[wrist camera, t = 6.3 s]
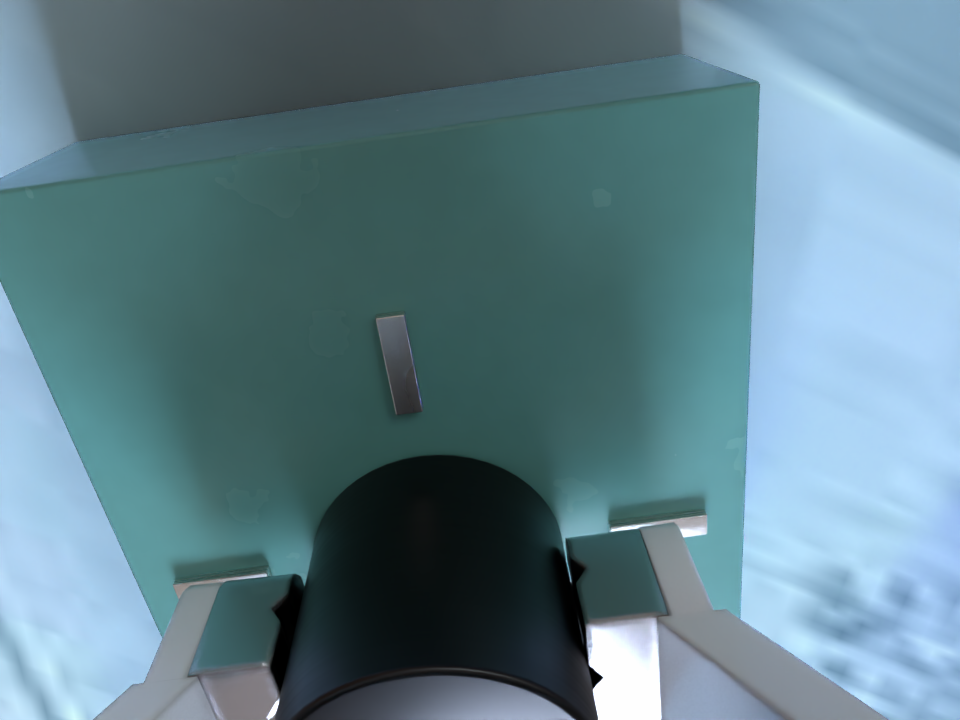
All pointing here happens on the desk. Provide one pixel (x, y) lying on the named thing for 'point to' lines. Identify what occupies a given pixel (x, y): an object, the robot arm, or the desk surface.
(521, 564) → the dial
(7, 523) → the desk surface
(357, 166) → the dial panel
